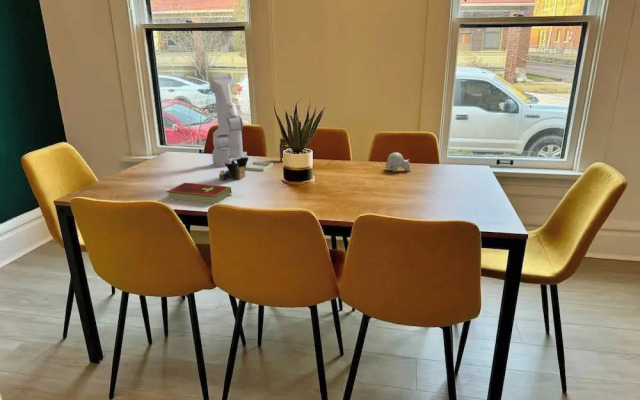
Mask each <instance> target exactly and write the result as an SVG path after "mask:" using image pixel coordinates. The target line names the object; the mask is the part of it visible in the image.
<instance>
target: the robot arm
mask: <svg viewBox="0 0 640 400" xmlns="http://www.w3.org/2000/svg"><path fill="white" fill-rule="evenodd" d="M208 82H209V91H210V93H212V94H214V97H215V105H216V117H217V128H216V130H214V132H213V133H212V137H213V138H212V143H213V147H214V148H213V150H212V164H213V167H214V166H215V167H219V168H226V169H227V170H229V172H230V175H231V177H230V178H235V179H234V180H237V179H236V178H237V167H238V166H242V167H244V168H246V165H247V164H248V161H249V157H248V154H247V153H248V152H247V151H244V150H243V137H242V136H243V133H242V130H243V128H244V125H243V120H242V119H243V118H242V117H241V115H240V114H239V112H238V108H237V105H236V103H235V102H234V101H233V99H232V97H233V96H232V92H231V91H232V90H233V87H234V78H233V75H232V74H231V73H227V74H210V75H209V78H208Z"/></svg>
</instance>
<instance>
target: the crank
mask: <svg viewBox="0 0 640 400" xmlns="http://www.w3.org/2000/svg"><path fill="white" fill-rule="evenodd" d="M218 177H219V181H223V182H224V181H226V180H228V179H230V178H231V175H230V172H229V170H228V169H227V170H220V171H219V174H218Z"/></svg>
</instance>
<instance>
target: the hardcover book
mask: <svg viewBox="0 0 640 400" xmlns="http://www.w3.org/2000/svg"><path fill="white" fill-rule="evenodd" d="M166 192H167V193H168V197H169V200H170V199H173V200H172V201H178V200H182V201H181V202H187V201H190V202H189V203H196V202H200V203H199V204H205V203H209V204H208V205H214V204H215V203H217V204H220V202H222V201H224V200H225V199H227V198H228V197H230V196H231V194H232V187H231V186H223V185H217V184H216V185H215V184H213V185H212V184H204V183H192V182H182V183H181V184H179V185H177V186H175V187H173V188H171V189H168V190H167V191H166Z"/></svg>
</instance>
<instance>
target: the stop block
mask: <svg viewBox="0 0 640 400" xmlns="http://www.w3.org/2000/svg"><path fill="white" fill-rule="evenodd" d="M245 171H246V170H245V168H244V167H242V166H238V167H237V178H236V179H235V178H231V177H230V178H231V179H230V180H238V181H241V180H242V179H244V178H245V177H246V172H245Z"/></svg>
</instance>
